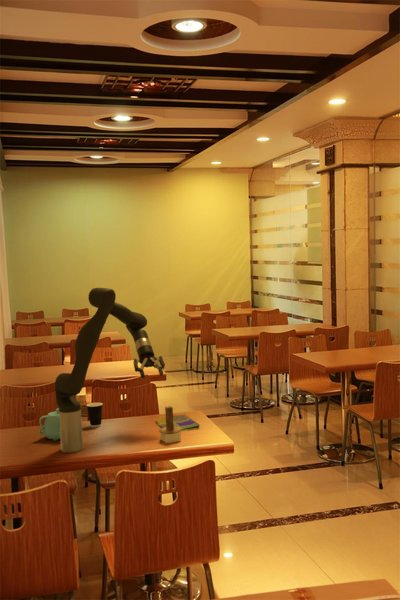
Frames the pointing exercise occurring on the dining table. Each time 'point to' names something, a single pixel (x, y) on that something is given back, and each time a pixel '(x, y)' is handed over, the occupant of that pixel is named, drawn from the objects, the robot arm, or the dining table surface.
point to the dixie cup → (95, 414)
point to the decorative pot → (51, 425)
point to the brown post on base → (169, 423)
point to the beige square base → (171, 437)
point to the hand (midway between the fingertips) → (152, 376)
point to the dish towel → (179, 422)
